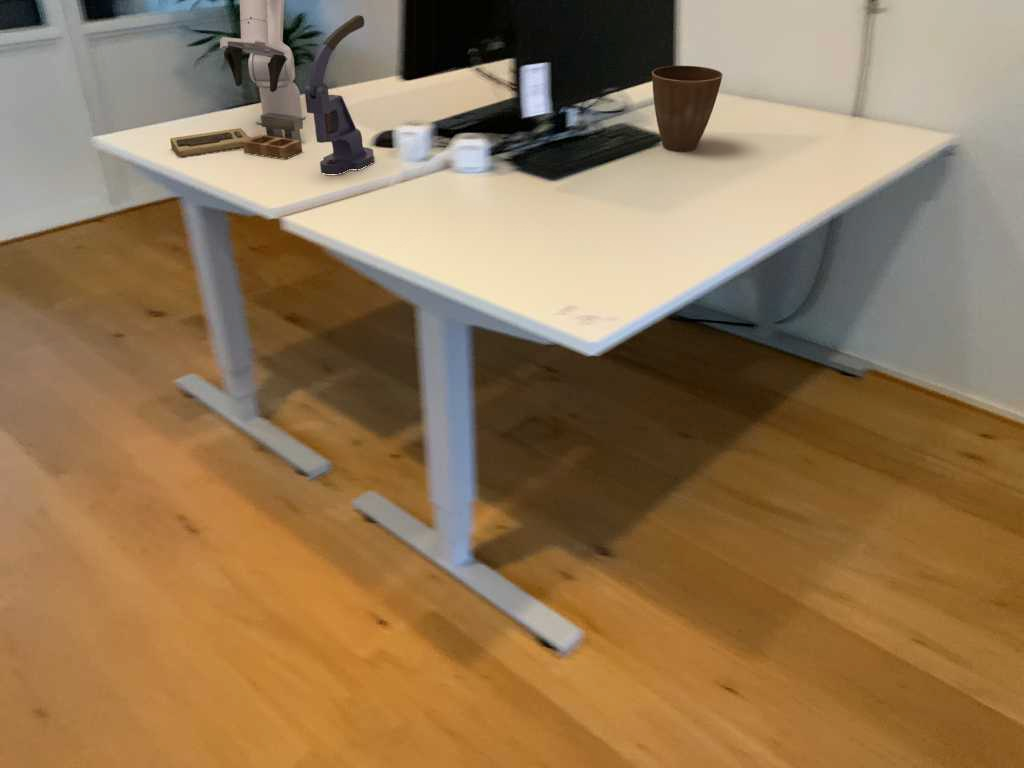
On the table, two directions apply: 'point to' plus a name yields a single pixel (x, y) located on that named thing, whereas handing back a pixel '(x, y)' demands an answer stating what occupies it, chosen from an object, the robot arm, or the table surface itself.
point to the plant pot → (684, 103)
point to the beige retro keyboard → (208, 142)
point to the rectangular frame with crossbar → (272, 146)
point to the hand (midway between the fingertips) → (256, 87)
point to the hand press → (335, 111)
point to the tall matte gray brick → (282, 125)
